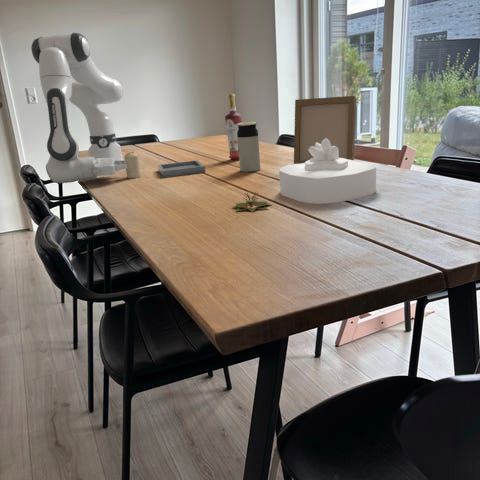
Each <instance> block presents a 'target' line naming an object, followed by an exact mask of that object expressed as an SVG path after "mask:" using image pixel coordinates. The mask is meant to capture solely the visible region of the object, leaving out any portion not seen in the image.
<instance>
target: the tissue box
mask: <svg viewBox="0 0 480 480" xmlns="http://www.w3.org/2000/svg"><path fill="white" fill-rule="evenodd" d="M308 151H309V152H310V154H311V155H312V156H313V157H314V158H311V159H310V160H308V161H306V162H305V163H301V164H294V163H293V164H287V165H284V166H282V167H281V168H280V169H279V171H278V172H279V188H280V189H279V190H280V192H279V193H280V195H281V196H284V197H286V198H289V199H292V200H295V201H297V202H301V203H305V204H315V205H317V204H318V205H320V204H323V205H324V204H334V203H335V204H336V203H340V202H341V203H342V202H345V201H351V200H355V199H359V198H364V197H368V196H371V195H373V194H375V192H376V191H377V166H376V164H375V163H373V162H372V163H371V162H364V161H362V162H361V161H358V160H354V161H353V160H349V159H345V158H339V149H338V148H337V147H336V146H331V143H330V141H329V140H328V139H327V138H325V139H324V140H323V141H322V143H321V144H319V143H317V142H316V144H315V147H313V146H310V148H309V149H308Z"/></svg>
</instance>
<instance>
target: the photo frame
mask: <svg viewBox="0 0 480 480" xmlns="http://www.w3.org/2000/svg"><path fill="white" fill-rule="evenodd" d="M294 105H295V106H294V139H293V140H294V141H293V144H294V145H293V164H301V163H305V162H306V161H308V160H310V159H311V158H314V157H313V156H312V155H311V154H310V152H309V151H308V149H309V148H310V146H313V147H315V144H316V142H317V143H319V144H321V143H322V141H323V140H324V139H325V138H327V139H328V140H329V141H330V143H331V146H336V147H337V148H338V149H339V158H345V159H349V160H353V161H355V142H356V141H355V138H356V114H357V113H356V111H357V110H356V109H357V97H356V96H355V95H347V96H334V97H333V96H332V97H318V98H317V97H315V98H301V99H295V100H294Z"/></svg>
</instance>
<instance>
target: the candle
mask: <svg viewBox="0 0 480 480" xmlns="http://www.w3.org/2000/svg"><path fill="white" fill-rule="evenodd" d="M123 158H124V160H125V164H127V169H125V171H126V178H127V179H137V178H141V177H142V172H141V167H140V160H139V159H140V158H139V155H138V154H137V153H136V152H135V151H129V152H126V153H125V155H124V156H123Z"/></svg>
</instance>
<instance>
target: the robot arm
mask: <svg viewBox="0 0 480 480" xmlns="http://www.w3.org/2000/svg"><path fill="white" fill-rule="evenodd" d="M30 47H31V53H32V57H33V59H34V61H35V62H36V63H37V64H38V68H39V71H38V72H39V78H40V79H39V80H40V85H41V90H42V93H43V96H44V99H45V102H46V106H47V111H48V121H49V129H50V131H49V136H48V139H47V143H46V148H47V152H48V154H49V159H48V161H47V162H46V163H45V170H46V174H47V176H48V177H49V179H50V181H52V182H53V183H56V184H68V183H75V182H77V181H83V182H84V181H85V182H86V181H94V180H97V179H98V177H99V176H100V177H101V176H111V175H116V171H117V172H118V171H121V170H126V169H127V164H125V160H124V157H123V153H122V148H121V147H122V146H121V145H120V144H119V143H117V136H116V133H115V130H114V124H113V120H112V119H113V118H112V117H111V115H110V114H108V113H107V112H104V111H102V110H101V109H100V107H99V106H98V105H105V104H107V105H109V104H112V103H116V102H118V101H119V102H120V101H121V99H122V98H123V94H124V93H123V92H124V90H123V89H124V88H123V86H122V84H121V82H120V81H119V80H117V79H115V78H113V77H110V76H108V75H107V74H105V73H104V72H103V71H102V70H100V69H99V68H98V66H97V65H96V64H95V62H94V60H93V59H92V56H91V55H90V54H91V53H90V51H91V50H90V49H91V48H90V43H89V42H88V39H87V37H86V36H85V35H83V34H82V33H78V32H72V33H57V34H54V35H53V34H52V35H48V36H44V37H43V36H40V37H37V38H35V39H33V41H32V43H31V46H30ZM72 79H73V80H74V81H75V82H72ZM69 102H70V103H71V104H72V105H73V106H75V107H77V108H78V109H79V111H81V112H82V114H83V116H84V117H85V119H86V122H87V125H88V131H89V141H90V146H89V148H88V155H89V156H86V157H79V151H80V148H79V143H78V142H77V141H76V140H75V138H74V137H73V136H72V134H71V132H70V129H69V128H70V127H69V119H68V111H67V107H68V103H69Z"/></svg>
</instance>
